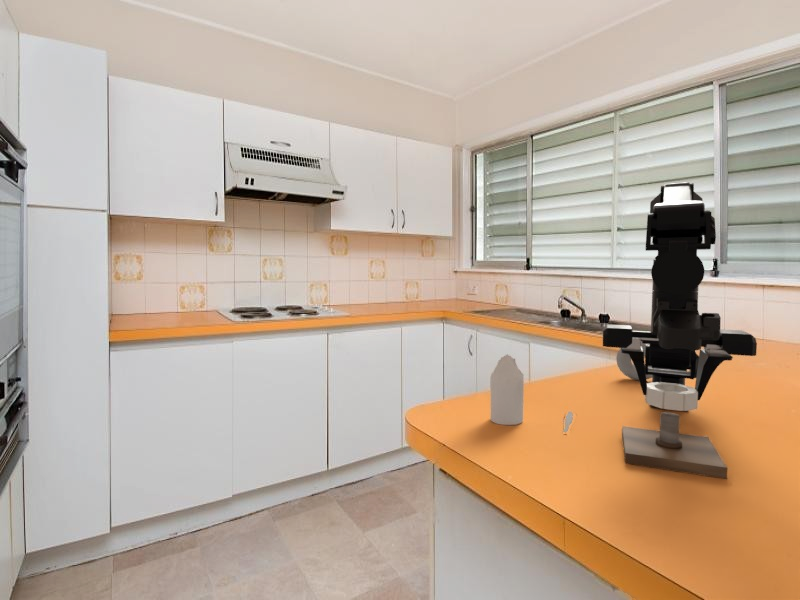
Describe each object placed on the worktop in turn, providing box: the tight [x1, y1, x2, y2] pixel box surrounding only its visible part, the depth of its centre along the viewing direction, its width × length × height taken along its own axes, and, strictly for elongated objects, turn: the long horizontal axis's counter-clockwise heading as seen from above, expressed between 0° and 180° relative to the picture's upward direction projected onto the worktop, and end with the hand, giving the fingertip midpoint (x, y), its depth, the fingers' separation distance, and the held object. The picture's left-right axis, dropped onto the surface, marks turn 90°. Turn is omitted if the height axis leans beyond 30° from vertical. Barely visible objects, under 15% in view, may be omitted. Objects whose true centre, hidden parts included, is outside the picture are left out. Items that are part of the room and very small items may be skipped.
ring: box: [644, 382, 699, 412], centre depth 67 cm, size 6×6×2 cm
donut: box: [615, 343, 652, 381], centre depth 113 cm, size 10×4×10 cm, turn 57°
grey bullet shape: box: [489, 354, 525, 426], centre depth 83 cm, size 6×12×6 cm
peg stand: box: [621, 411, 728, 480], centre depth 68 cm, size 12×12×6 cm
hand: (670, 397), depth 67 cm, fingers closed on ring, 6 cm apart
